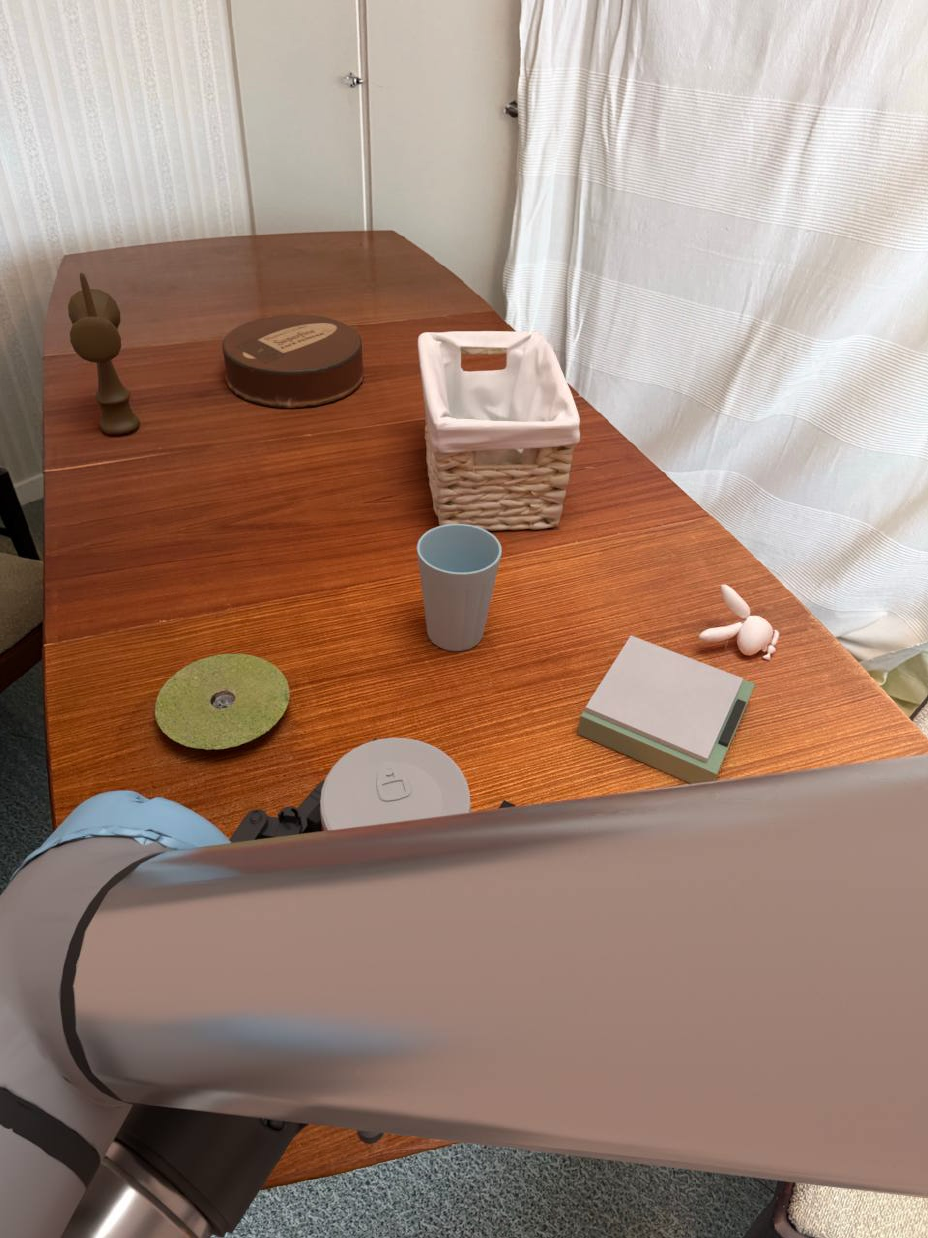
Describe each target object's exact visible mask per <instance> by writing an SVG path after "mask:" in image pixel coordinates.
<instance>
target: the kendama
mask: <svg viewBox="0 0 928 1238" xmlns="http://www.w3.org/2000/svg"><path fill="white" fill-rule="evenodd" d="M79 281H80V286H81V290H78V291H77V292H75V293H74V294H73V295H71V297H70V299H69V302H68V304H67V310H68V311H67V313H68V317H69V319H70V322H71V324H72V325H71V327H70V330H69V340H70V341H69V342H70V345H71V346H72V348H73V351H74V352H75V353H76V354H77V355H78V356H79V358H81V359H82V360H84V361H88V362H90V363H96V369H97V370H96V371H97V386H98V387H97V391H95V394H94V400H95V402H96V403H98V405H99V406H100V409H101V410H100V411H101V418H100V420H99V424H98V426H99V428H100V430H101V431H102V432H103V433H106V434H107V435H115V436H116V435H125V434H129V433H132V432H134V431H136V429H138V428H139V427H140V422H141V421H140V418H139V417H138V415H137V414H135V412H133V410H132V408H131V405H130V397H131V392H130V390H129V389H128V388H127V387H125V386H124V385H123V383H122V382H121V380H120V378H119V376H118V373H117V371H116V369H115V366H114V364H113V361H112V360H113V359H115V358H116V357H118V355H119V353H120V351H121V348H122V337H121V334H120V332H119V330H118V329H119V327H120V324H121V321H122V320H121V310H120V308H119V306H118V304H117V303H118V302H117V301H116V300H115V299H114V298H113V297H112V296H111V294H109V293H107V292H106V291H103V290H101V289H95V288H90V286H89V282H88V279H87V277H86V275H85V273H84V272H80V274H79Z"/></svg>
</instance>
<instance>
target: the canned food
mask: <svg viewBox="0 0 928 1238" xmlns="http://www.w3.org/2000/svg"><path fill="white" fill-rule="evenodd" d="M324 780H325V782H324V785H323V788H322V792H321V800H320V803H321V804H320V814H321V825H322V831H328V830H336V829H344V828H352V827H360V826H367V825H375V824H383V823H391V822H399V821H406V820H414V819H422V818H430V817H438V816H445V815H453V814H461V813H469V812H472V804H471V801H472V800H471V792H470V789H469V785H468V781H467V778H466V777H465V775H464V772H463V771H462V769H461V768H460V767H459V765H458V764H457V763H456V762H455V760H454V759H453V758H451V757H450V756H449V755H447V754H446V753H445V752H444V751H443V750H441V749H439V748H437V747H436V746H434V745H432V744H429V743H427V742H424V741H421V740H418V739H412V738H407V737H386V738H380V739H378V740H375V741H373V740H371V741H368V742H365V743H363V744H360V745H359V746H357V747H355V748H353V749H351V750H350V751H348V752H347V753H345V754H344V755H343V756H341V757H340V758H339V759H338V761H336V763H334V765H332V767H331V769H330V770H329V772H328V773H327V775H326V777H325V779H324Z"/></svg>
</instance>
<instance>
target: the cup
mask: <svg viewBox="0 0 928 1238" xmlns="http://www.w3.org/2000/svg"><path fill="white" fill-rule="evenodd" d="M502 552H503V548H502V545H501V543H500V541H499V539H498V538H497V536H495V535H494V534H493V533H491V532H490V531H489V530H484V529H482V528H479V527H476V526H473V525H467V524H447V525H442V526H436V527H433V528H431V529H429V530H427V531H426V532H425V533H423V534H422V536H421V537H420V538H419V539H418V541H417V544H416V553H417V561H418V569H419V576H420V584H421V585H420V586H421V593H422V600H423V608H424V615H425V616H424V617H425V624H426V632H427V636H428V638H429V640H430V641H431V642H432V643H433V644H434V645H435V646H436V647H438V648H440V649H442V650H445V651H450V652H462V651H463V652H464V651H468V650H470V649H472V648H474V647H476V646H478V644H479V643H480V642H481V640H482V639H483V637H484V632H485V629H486V625H487V620H488V616H489V611H490V606H491V603H492V597H493V594H494V589H495V584H496V579H497V575H498V572H499V566H500V564H501V557H502Z"/></svg>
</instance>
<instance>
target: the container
mask: <svg viewBox="0 0 928 1238" xmlns="http://www.w3.org/2000/svg"><path fill="white" fill-rule="evenodd" d="M221 347H222V354H223V358H224V366H225V372H226V373H225V374H226V378H225V379H226V383H227V385H228V388H229V389H230V390H231V391H232V392H233V393H234V394H235V395H237V396H238V397H240V398H241V399H242V400H243V399H244V400H245V401H247V402H251V403H253V404H257V405H261V406H267V407H271V408H272V407H274V408H279V409H301V408H302V409H303V408H308V407H309V408H310V407H318V406H321V405H325V404H329V403H334V402H336V401H338V400H341V399H344V398H345V397H347V396H349V395H351V394H352V393H353V392H355V391H356V390H357V389H358V388H359V386H360V385H361V384H362V383H363V380H364V378H365V373H364V371H365V369H364V365H363V364H364V363H363V342H362V338H361V335H360V334H359V333H358V332H357V330H355V329H354V328H353V327H351V326H350V325H348V324H347V323H344V322H341V321H339V320H336V319H334V318H330V317H326V316H319V315H316V314H315V315H314V314H305V313H304V314H303V313H301V314H300V313H299V314H297V313H293V314H292V313H290V314H289V313H288V314H277V315H269V316H265V317H261V318H256V319H253V320H250V321H246V322H244V323H242V324H240V325H238V326H236V327H234V328H233V329H231V330H230V331H229V332H228V333H227V334H226V335H225V337H224V338H223V340H222V344H221Z"/></svg>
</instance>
